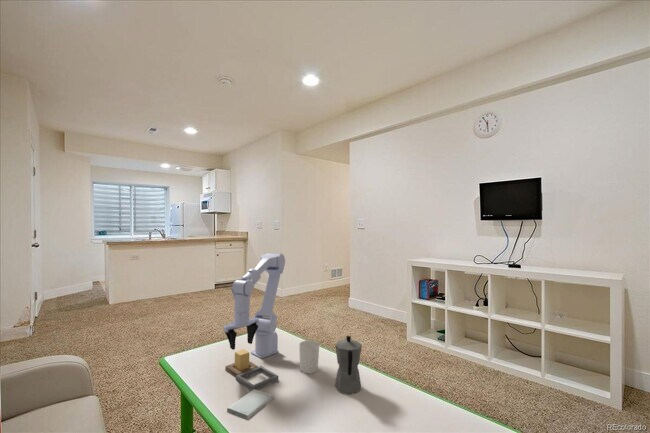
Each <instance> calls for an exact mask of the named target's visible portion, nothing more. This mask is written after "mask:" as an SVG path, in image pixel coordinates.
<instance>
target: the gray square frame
mask: <svg viewBox="0 0 650 433" xmlns="http://www.w3.org/2000/svg"><path fill="white" fill-rule="evenodd" d="M257 373H258V374H259V373H262V374H264V375H266V376H267V377H269V378H266V379H264V380H262V381H258V382H257V383H255V384H253V383H251V382H250V381H248V380H247V379H246V378H248V377H250V376H253V375H255V374H257ZM235 380H236V381H237V382H239V383H240V384H241V385H242V386H244V387H245V388H247V389H249V390H250V392H251V391H252V390H254V389H255V390H260V389H262V388H264V387H266V386H268V385H270V384H273V383H275V382H277V381H279V375H278V374H276V373H274V372H273V371H271V370H269V369H267V368H266V367H264V366H262V365H260V366H258V367H257V368H254V369H252V370H249V371H247V372H244V373H242V374H239V375H236V377H235Z"/></svg>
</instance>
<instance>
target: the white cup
mask: <svg viewBox="0 0 650 433" xmlns="http://www.w3.org/2000/svg"><path fill="white" fill-rule="evenodd" d="M298 345H299V363H300V364H299V365H300V367H299V369H300V371H301V372H302V373H303V374H307V373H309V374H314V372H315V373H316V372H317V371H318V370H319V368H318V367H319V366H318V365H319V357H320V343H319V342H318V341H316V340H303V341H300V343H299V344H298Z"/></svg>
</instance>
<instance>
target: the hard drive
mask: <svg viewBox="0 0 650 433" xmlns="http://www.w3.org/2000/svg"><path fill="white" fill-rule="evenodd" d="M273 399H274V396H273V394H272V393H271V394H270V393H268V392H264V391H261V390H259V389H257V390H255V389H254V390H252V391H251V390H250V391H249V392H248V393H246V394H245V395H244V396H242V397H241V398H239V399H238V400H237V401H236V402H234V403H233V404H231V405H230V406H228V407H227V408H226V412H228V413H231V414H233V415H235V416H237V417H241V418H244V419H246V420H248V419H250V418H251V417H252V416H253V415H255V414H256V413H258V411H260V410H261V409H262V408H263V407H264V406H266V405H267V404H268V403H269V402H270V401H271V400H273Z"/></svg>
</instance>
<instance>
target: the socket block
mask: <svg viewBox="0 0 650 433" xmlns="http://www.w3.org/2000/svg"><path fill="white" fill-rule="evenodd" d="M257 367H259V365H258V364H255V363H253V362H252V361H250V360H249V368H246V369H243V370H241V371H239V370H237V369H235V362H233V363H231V364H228V365H225V368H224V369H225V371H226V372H227V373H230V375H232V376H234V377H235V378H236V375H239V374H242V373H244V372H247V371H249V370H252V369H254V368H257Z"/></svg>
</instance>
